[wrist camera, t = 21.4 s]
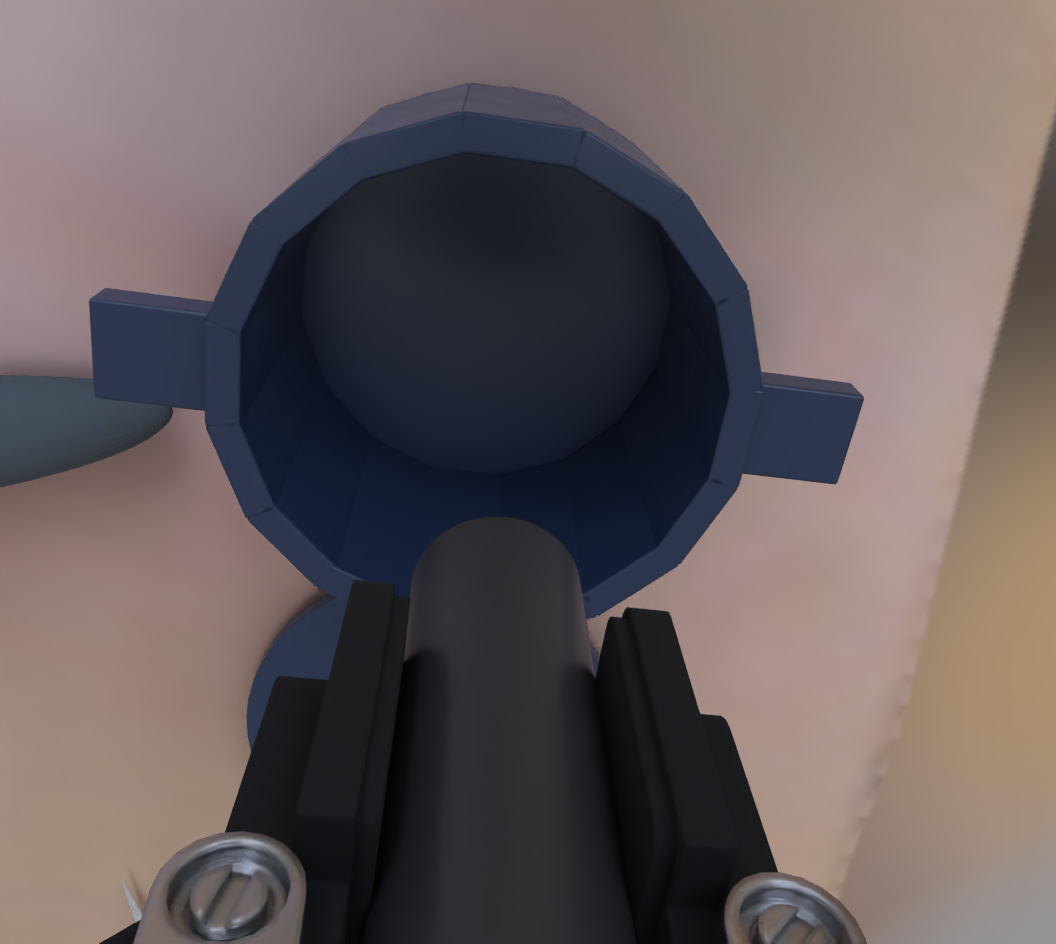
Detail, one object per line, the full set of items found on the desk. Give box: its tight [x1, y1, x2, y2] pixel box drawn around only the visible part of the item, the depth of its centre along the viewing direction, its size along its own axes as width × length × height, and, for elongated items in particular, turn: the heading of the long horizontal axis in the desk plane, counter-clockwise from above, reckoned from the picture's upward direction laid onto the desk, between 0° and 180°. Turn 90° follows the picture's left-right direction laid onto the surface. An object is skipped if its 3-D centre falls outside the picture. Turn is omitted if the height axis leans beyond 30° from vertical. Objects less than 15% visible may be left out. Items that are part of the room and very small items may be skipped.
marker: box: [360, 517, 637, 944], centre depth 9 cm, size 3×3×12 cm
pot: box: [89, 83, 864, 619], centre depth 26 cm, size 13×18×8 cm
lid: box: [247, 594, 600, 751], centre depth 34 cm, size 14×14×6 cm
